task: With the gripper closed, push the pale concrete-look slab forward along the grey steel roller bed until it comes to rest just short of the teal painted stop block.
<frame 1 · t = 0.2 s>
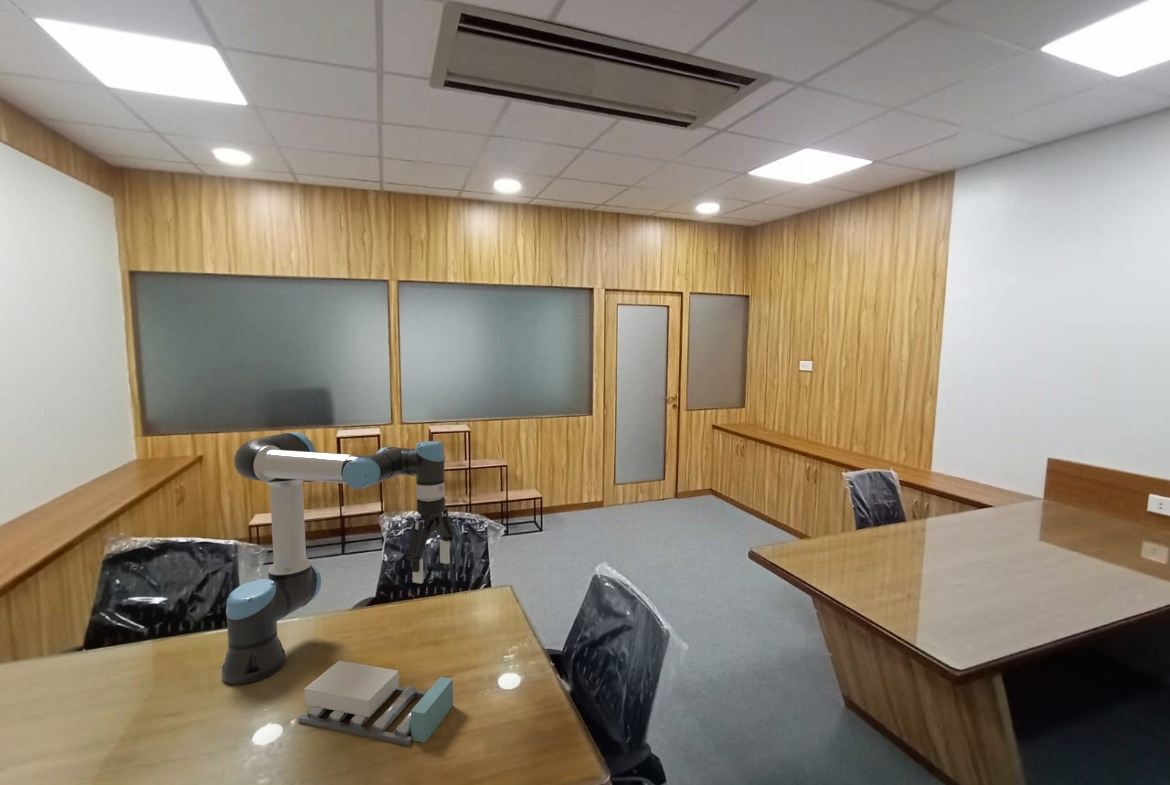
hand: (432, 572, 144), 28 cm above the table, fingers open, 13 cm apart
roller bed: (374, 710, 128), on the table
slab: (353, 687, 129), point 5 cm above the table, slide at 0.0 cm
stop block: (433, 722, 124), on the table
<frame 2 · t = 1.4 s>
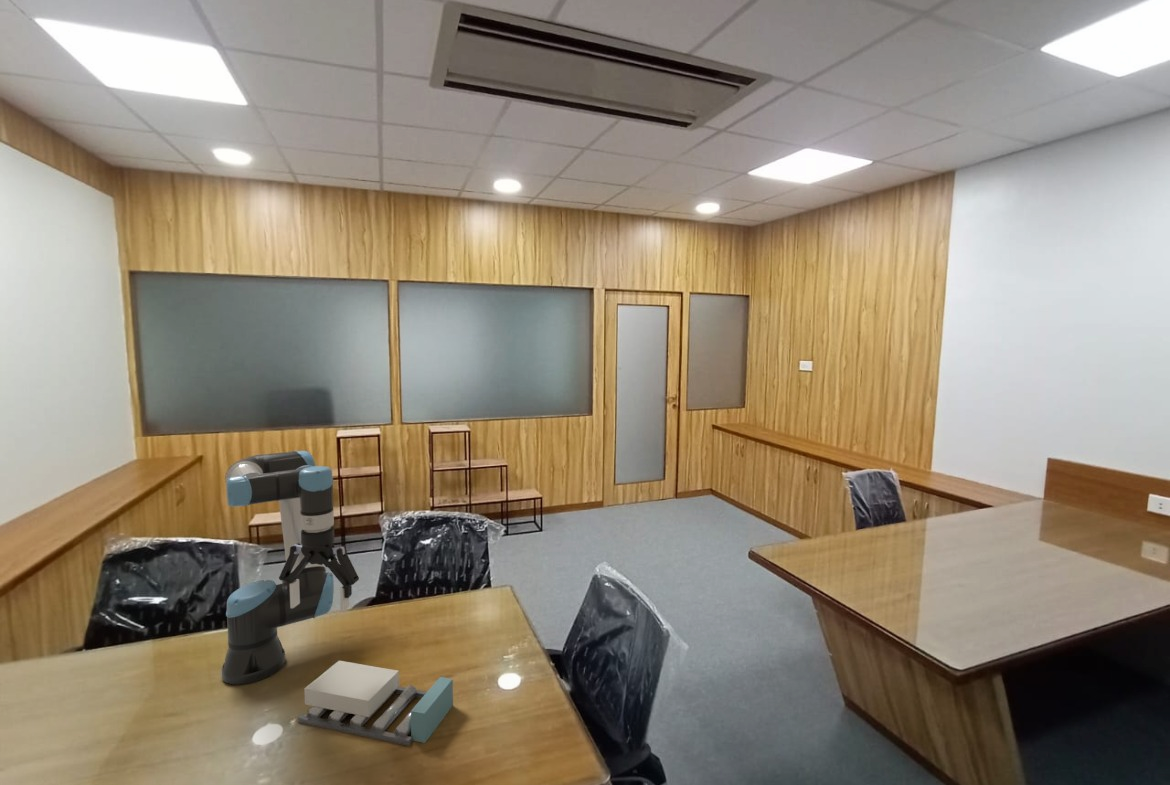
hand: (319, 607, 134), 23 cm above the table, fingers open, 13 cm apart
nothing on the table moved.
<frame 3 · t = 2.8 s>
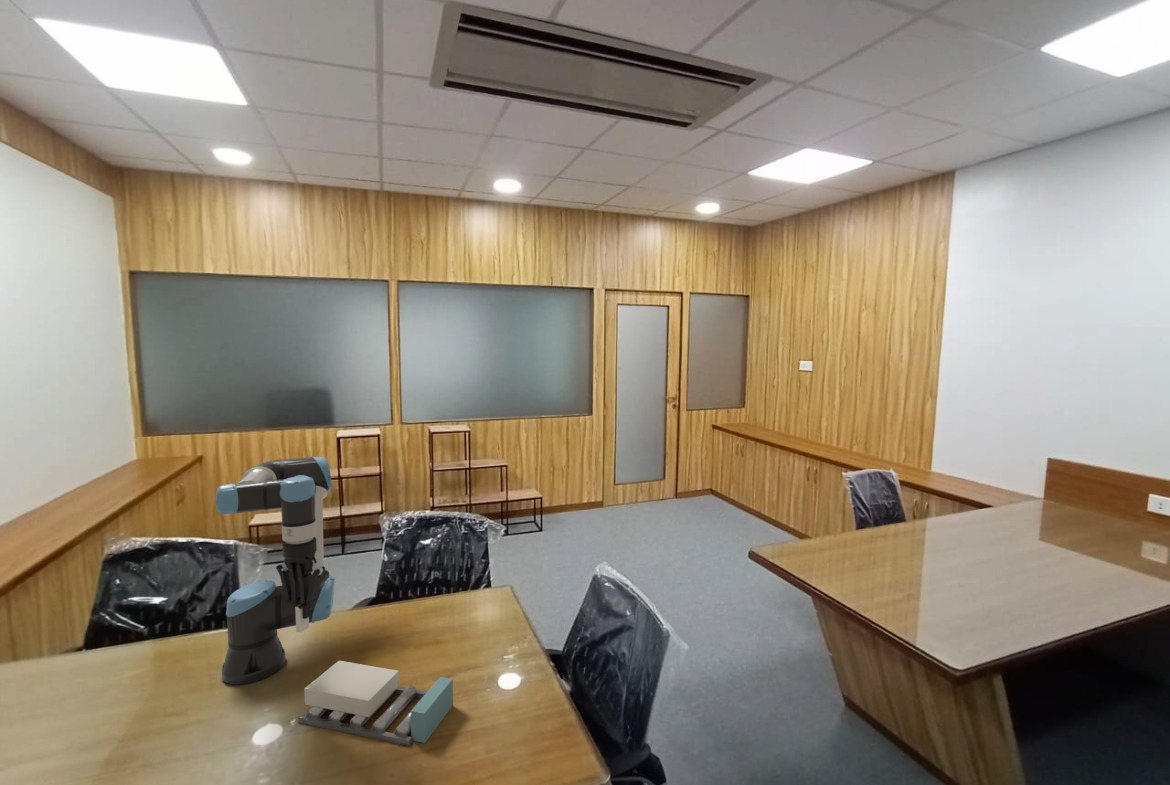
hand: (302, 629, 132), 18 cm above the table, fingers closed
nothing on the table moved.
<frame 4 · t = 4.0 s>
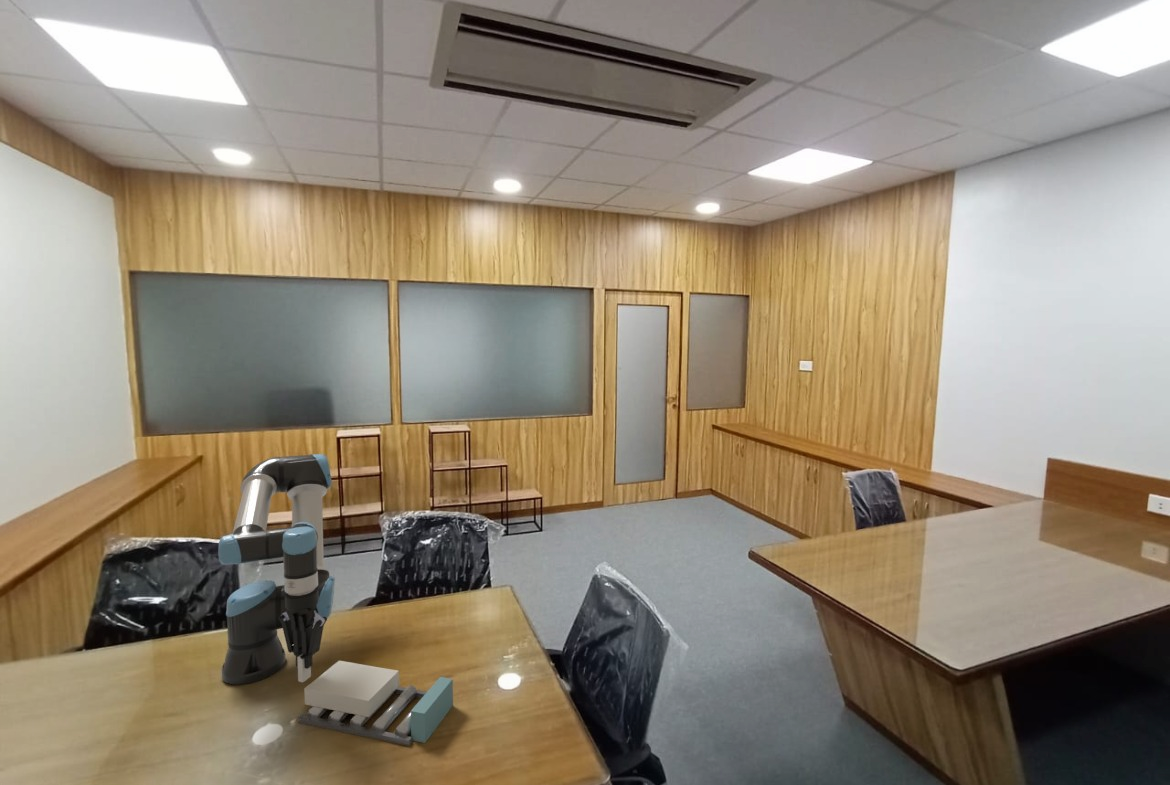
hand: (304, 678, 133), 5 cm above the table, fingers closed
nothing on the table moved.
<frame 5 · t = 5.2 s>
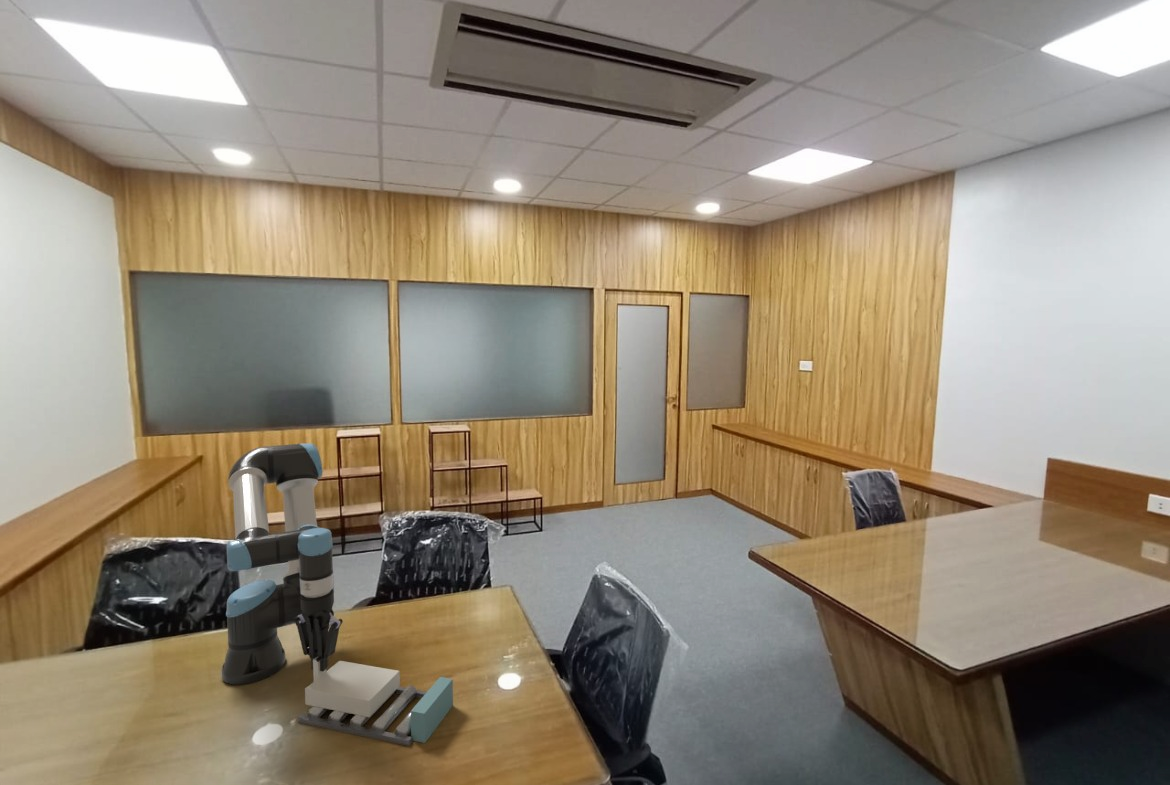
hand: (320, 681, 131), 5 cm above the table, fingers closed
slab: (353, 687, 129), point 5 cm above the table, slide at 0.2 cm, touching gripper
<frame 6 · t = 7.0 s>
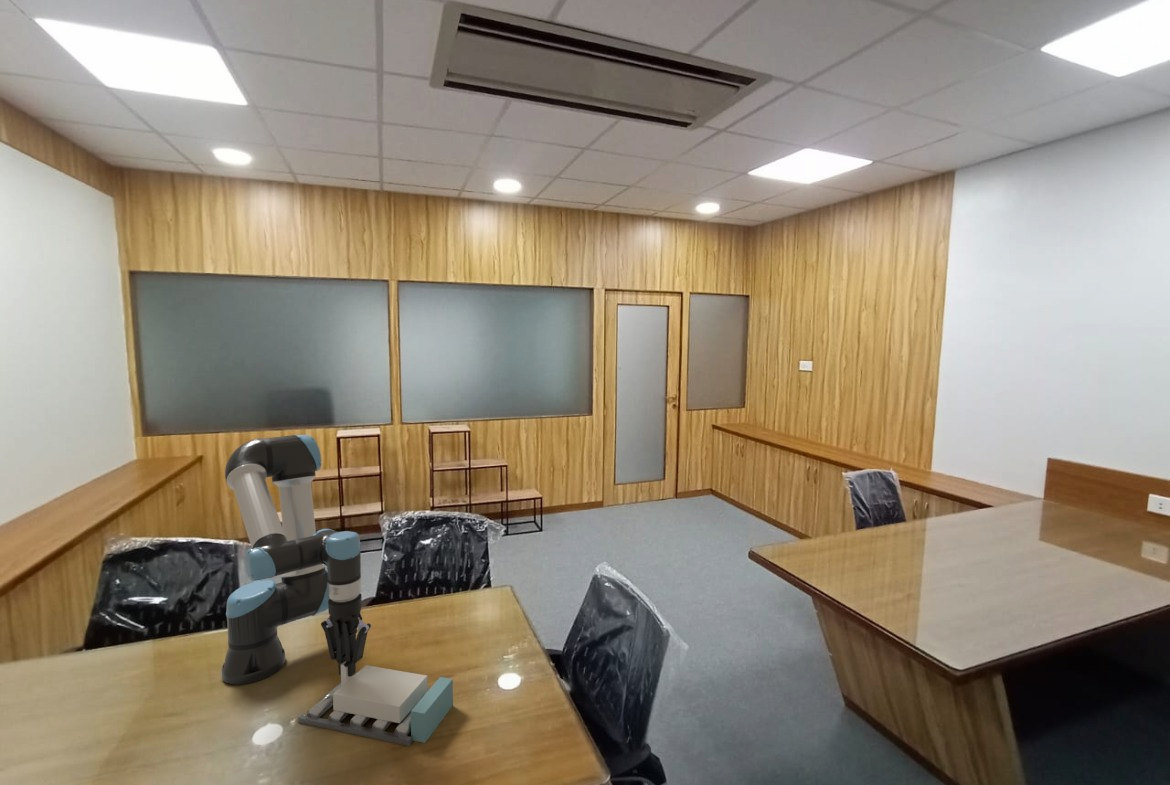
hand: (347, 686, 130), 5 cm above the table, fingers closed
slab: (381, 692, 127), point 5 cm above the table, slide at 8.2 cm, touching gripper
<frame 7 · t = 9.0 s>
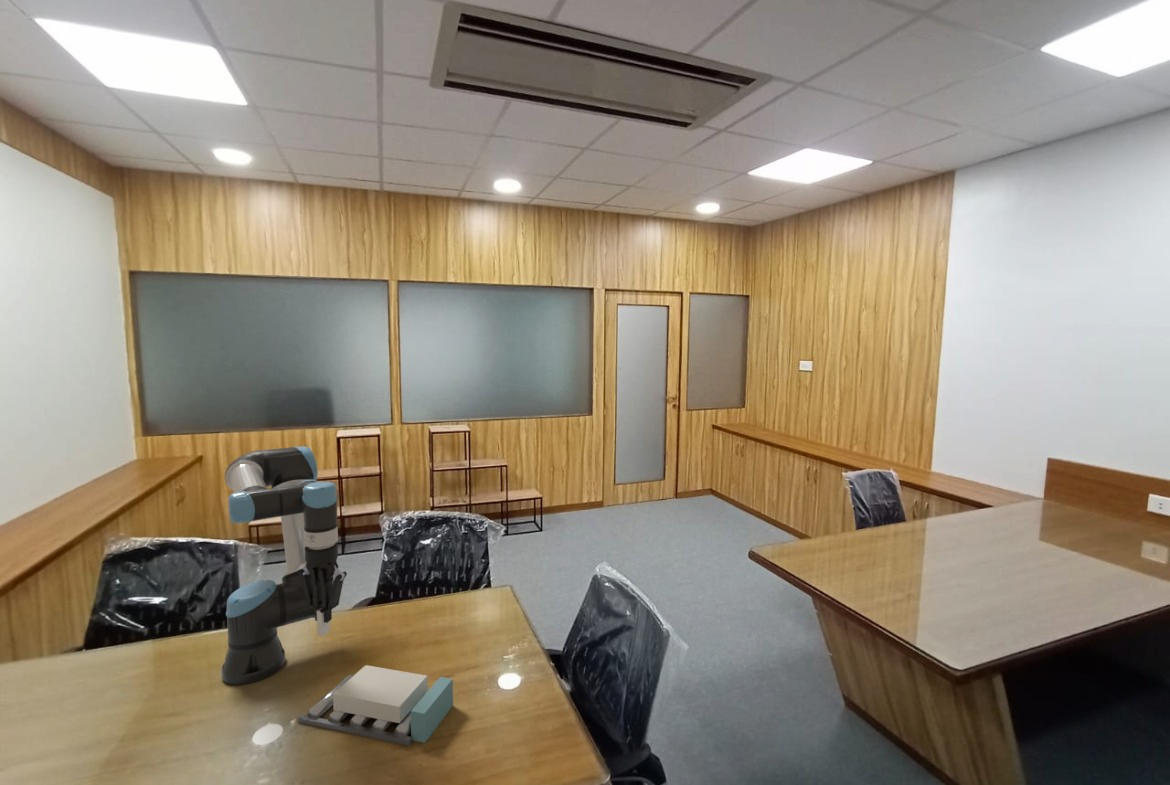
hand: (323, 632, 133), 17 cm above the table, fingers closed
slab: (381, 692, 127), point 5 cm above the table, slide at 8.2 cm
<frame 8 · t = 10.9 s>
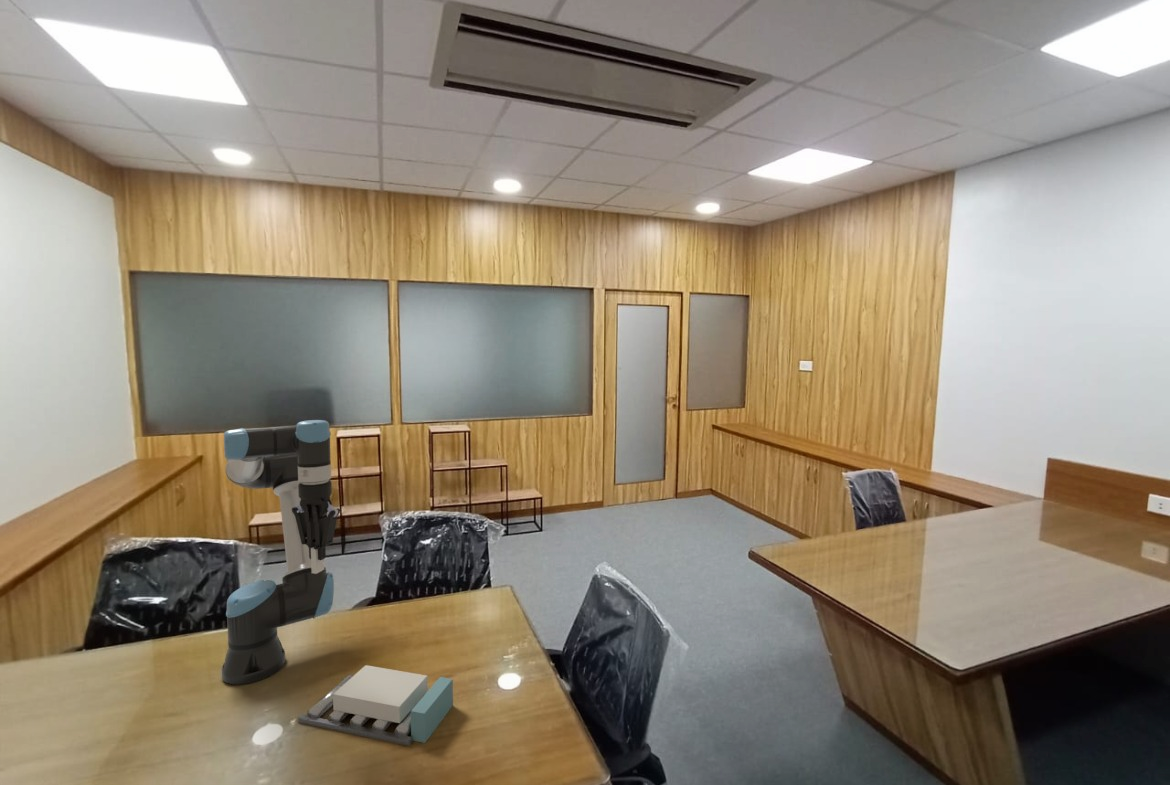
hand: (317, 571, 133), 32 cm above the table, fingers closed
nothing on the table moved.
at the end: slab slide at 8.2 cm; slab touching nothing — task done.
